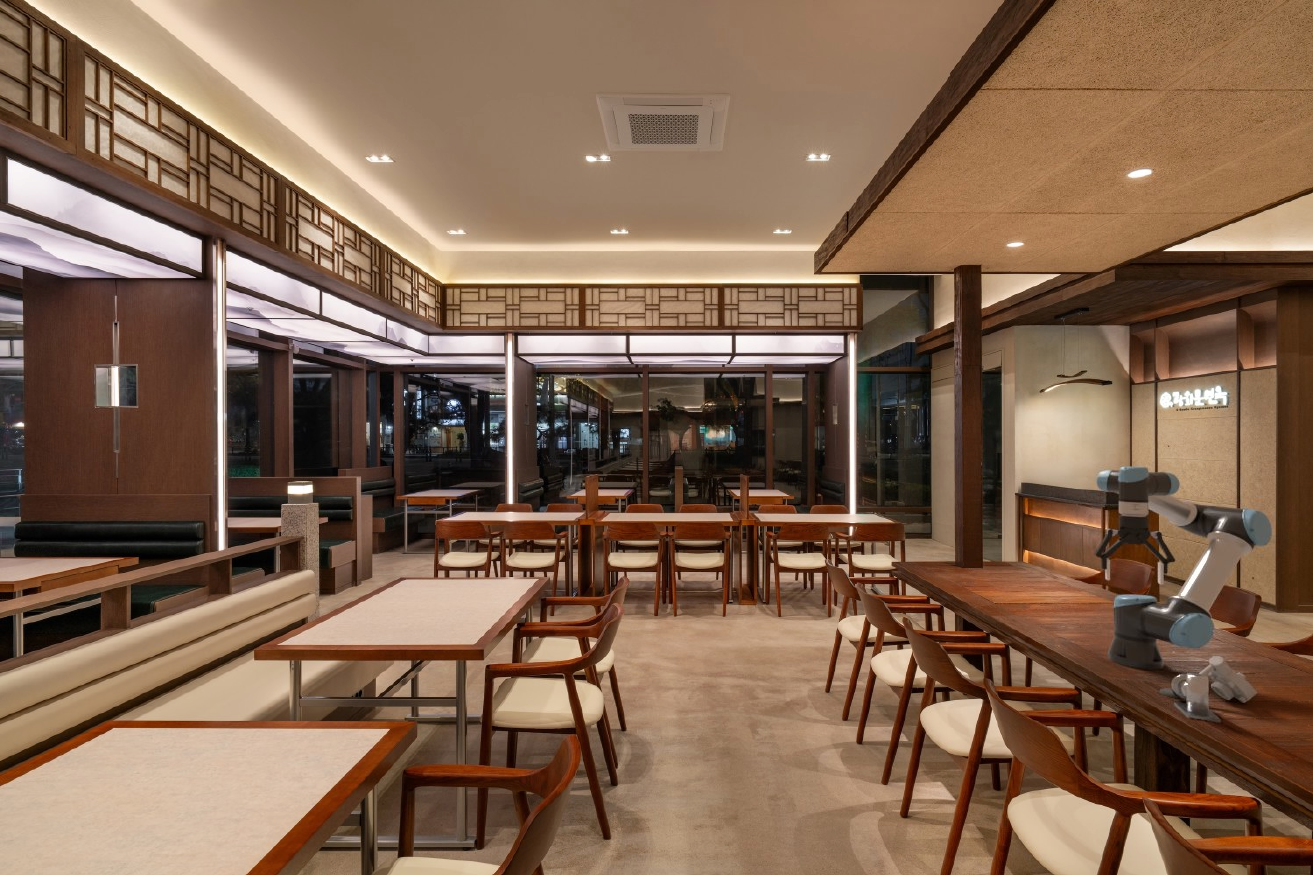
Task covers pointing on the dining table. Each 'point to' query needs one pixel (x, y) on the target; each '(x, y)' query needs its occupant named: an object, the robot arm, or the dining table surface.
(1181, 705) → the elbow fitting
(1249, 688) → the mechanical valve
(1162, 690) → the grey round disc
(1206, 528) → the robot arm
